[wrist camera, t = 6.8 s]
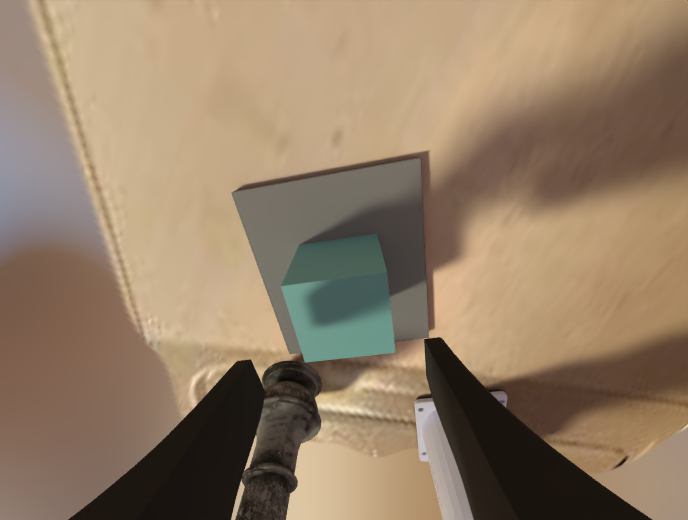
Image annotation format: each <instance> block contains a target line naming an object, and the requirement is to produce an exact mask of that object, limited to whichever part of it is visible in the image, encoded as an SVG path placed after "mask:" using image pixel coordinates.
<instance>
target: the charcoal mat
mask: <svg viewBox="0 0 688 520" xmlns="http://www.w3.org/2000/svg"><path fill="white" fill-rule="evenodd" d="M232 196H233V199H234V202H235V204H236V207H237V210H238V213H239V215H240V218H241V221H242V224H243V227H244V229H245V232H246V235H247V238H248V240H249V243H250V246H251V249H252V251H253V254H254V257H255V260H256V262H257V265H258V268H259V271H260V273H261V276H262V279H263V282H264V285H265V287H266V290H267V293H268V296H269V298H270V301H271V304H272V307H273V309H274V312H275V315H276V318H277V320H278V323H279V326H280V329H281V331H282V334H283V337H284V340H285V343H286V345H287V348H288V351H289V354H295V353H302V352H301V349H300V345H299V342H298V339H297V336H296V333H295V330H294V326H293V323H292V320H291V317H290V314H289V311H288V307H287V304H286V301H285V298H284V295H283V292H282V289H281V285H282V282H283V280H284V278H285V276H286V273H287V271H288V269H289V267H290V264H291V262H292V260H293V257H294V255H295V253H296V251H297V248H298V246H299V245H301V244H308V243H315V242H322V241H329V240H335V239H342V238H349V237H356V236H363V235H369V234H376V233H377V236H378V240H379V243H380V247H381V251H382V255H383V259H384V262H385V266H386V270H387V276H388V286H389V295H390V304H391V314H392V323H393V333H394V342H395V341H404V340H412V339H420V338H429V330H428V308H427V287H426V266H425V245H424V224H423V203H422V182H421V161H420V158H419V157H416V158H411V159H405V160H400V161H394V162H389V163H383V164H378V165H372V166H367V167H362V168H356V169H351V170H345V171H340V172H334V173H329V174H323V175H318V176H313V177H307V178H302V179H296V180H291V181H285V182H280V183H275V184H269V185H264V186H258V187H253V188H247V189H242V190H236V191H234V192H232Z"/></svg>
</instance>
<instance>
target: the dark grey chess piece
mask: <svg viewBox="0 0 688 520" xmlns="http://www.w3.org/2000/svg"><path fill="white" fill-rule="evenodd" d="M262 384H263V387H264V390H265V392H266V393H265V399H264V404H263V409H262V414H261V419H260V422H259V425H258V428H257V432H256V436H257V443H256V447H255V451H254V454H253V457H252V461H251V464H250V467H249V468H248V469H246V470H245V471H244V472H243V475H242V482H243V484H244V486H245V488H244V492H243V495H242V499H241V502H240V506H239V509H238V512H237V516H236V519H235V520H286V515H287V508H288V503H289V497H290V493H291V492H293V491H294V490H295V489H296V487H297V483H298V481H297V478H296V477H295V475H294V472H295V467H296V460H297V454H298V450H299V447H300V444H301V443H304V442H306V441H309V440H311V439H312V438H313V437H314V436H316V435H317V434H318V432H319V430H320V428H321V418H320V415H319V414H318V408H317V404H316V401H315V397H316V396H317V395H318V394H319V392H320V390H321V385H322V382H321V378H320V376H319V375H318V373H317V372H316V371H315V370H314V369H312V368H311V367H309V366H307V365H305V364H302V363H299V362H292V361H286V362H279V363H276V364H274V365H272V366H270V367H269V368H268V369H267V370H266V371H265V372H264V375H263V377H262Z"/></svg>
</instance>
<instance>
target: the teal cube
mask: <svg viewBox="0 0 688 520" xmlns="http://www.w3.org/2000/svg"><path fill="white" fill-rule="evenodd" d="M281 289H282V292H283V295H284V298H285V301H286V304H287V307H288V311H289V314H290V317H291V320H292V323H293V326H294V330H295V333H296V336H297V339H298V342H299V345H300V349H301V352H302V355H303V358H304V361H305V362H314V361H324V360H333V359H342V358H352V357H361V356H371V355H380V354H390V353H396V352H395V342H394V333H393V323H392V314H391V304H390V295H389V286H388V276H387V270H386V266H385V262H384V259H383V255H382V251H381V247H380V243H379V240H378V236H377V233H376V234H369V235H363V236H356V237H349V238H342V239H335V240H329V241H322V242H315V243H308V244H301V245H299V246H298V248H297V251H296V253H295V255H294V257H293V260H292V262H291V264H290V267H289V269H288V271H287V273H286V276H285V278H284V280H283V282H282V285H281Z"/></svg>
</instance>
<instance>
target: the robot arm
mask: <svg viewBox="0 0 688 520" xmlns="http://www.w3.org/2000/svg"><path fill="white" fill-rule="evenodd" d="M424 344H425V361H426V376H427V380H428V384H429V388H430V391H431V395H432V398H425V399H417V400H416V401H415V402H414V406H415V417H416V427H417V438H418V449H419V457H420V460H421V461H423V462H426V461H429V463H430V468H431V472H432V476H433V480H434V485H435V489H436V493H437V497H438V501H439V505H440V510H441V513H442V518H443V520H652V519H650V518H649V517H648V516H646V515H645V514H643V513H642V512H640V511H639V510H637V509H636V508H634V507H633V506H631V505H630V504H628V503H627V502H625V501H624V500H623V499H621V498H620V497H618V496H617V495H616V494H614V493H613V492H611V491H610V490H608V489H607V488H606V487H604V486H603V485H601V484H600V483H599V482H597V481H596V480H595V479H593V478H592V477H591V476H589V475H588V474H587V473H585V472H584V471H583V470H581V469H580V468H579V467H577V466H576V465H575V464H573V463H572V462H571V461H569V460H568V459H567V458H566V457H564V456H563V455H562V454H560V453H559V452H558V451H556V450H555V449H554V448H552V447H551V446H550V445H549V444H548V443H546V442H545V441H544V440H543V439H541V438H540V437H539V436H538V435H537V434H535V433H534V432H533V431H532V430H531V429H530V428H528V427H527V426H526V425H525V424H524V423H523V422H521V421H520V420H519V419H518V418H517V417H516V416H515V415H513V414H512V413H511V412H510V411H509V410H508V409H507V408H506V406H507V398H508V397H507V395H506V393H505V392H503V391H496V392H489V391H488V390H487V389H486V388H485V387H484V386H483V385H482V384H481V383H480V382H479V381H478V379H477V378H476V377H475V376H474V375H473V374H472V373H471V372H470V371H469V370H468V369H467V368H466V367H465V366H464V364H463V363H462V362H461V361H460V360H459V359H458V358H457V356H456V355H455V354H454V353H453V352H452V350H451V349H450V348H449V347H448V345H447V344H446V343H445V341H444V340H443V339H442V338H440V337H438V338H430V339H424ZM265 393H266V392H265V390H264V388H263V385H262V383H261V381H260V379H259V377H258V374H257V372H256V370H255V368H254V365H253V363H252V361H251V360H242V361H237V362H236V363H235V364H234V365H233V366H232V367H231V368H230V369H229V370H228V371H227V373H226V374H225V375H224V376H223V377H222V378H221V379H220V380H219V381H218V383H217V384H216V385H215V386H214V387H213V388H212V389H211V390H210V391H209V393H208V394H207V395H206V396H205V397H204V398H203V399H202V400H201V401H200V402H199V403H198V405H197V406H196V407H195V408H194V409H193V410H192V411H191V412H190V413H189V414H188V415H187V416H186V417H185V418H184V419H183V420H182V421H181V422H180V423H179V424H178V425H177V426H176V427H175V428H174V430H172V431H171V432H170V434H169V435H167V436H166V437H165V438H164V439H163V440H162V441H161V442H160V443H159V444H158V445H157V446H156V447H155V448H154V449H153V450H152V451H151V452H149V453H148V454H147V455H146V456H145V457H144V458H143V459H142V460H141V461H140V462H138V463H137V465H135V466H134V467H133V468H132V469H130V470H129V471H128V472H127V473H126V474H125V475H123V476H122V477H121V478H120V479H119V480H117V481H116V482H115V483H114V484H113V485H111V486H110V487H109V488H108V489H107V490H105V491H104V492H103V493H102V494H101V495H99V496H98V497H97V498H96V499H95V500H93V501H92V502H91V503H89V504H88V505H87V506H85V507H84V508H83V509H82V510H81V511H79V512H78V513H76V514H75V515H74V516H73V517H71V518H70V519H69V520H231V517H232V513H233V508H234V504H235V499H236V496H237V492H238V489H239V485H240V482H241V479H242V475H243V472H244V469H245V466H246V463H247V460H248V457H249V453H250V451H251V447H252V444H253V441H254V438H255V435H256V432H257V428H258V425H259V422H260V419H261V414H262V409H263V404H264V399H265Z"/></svg>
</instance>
